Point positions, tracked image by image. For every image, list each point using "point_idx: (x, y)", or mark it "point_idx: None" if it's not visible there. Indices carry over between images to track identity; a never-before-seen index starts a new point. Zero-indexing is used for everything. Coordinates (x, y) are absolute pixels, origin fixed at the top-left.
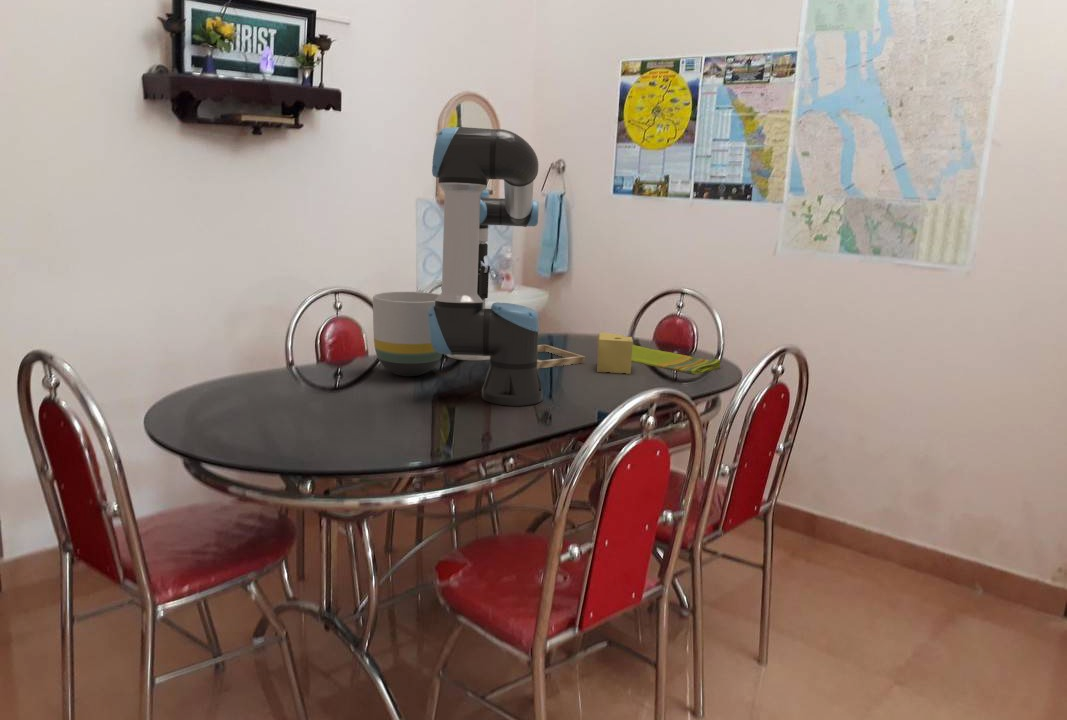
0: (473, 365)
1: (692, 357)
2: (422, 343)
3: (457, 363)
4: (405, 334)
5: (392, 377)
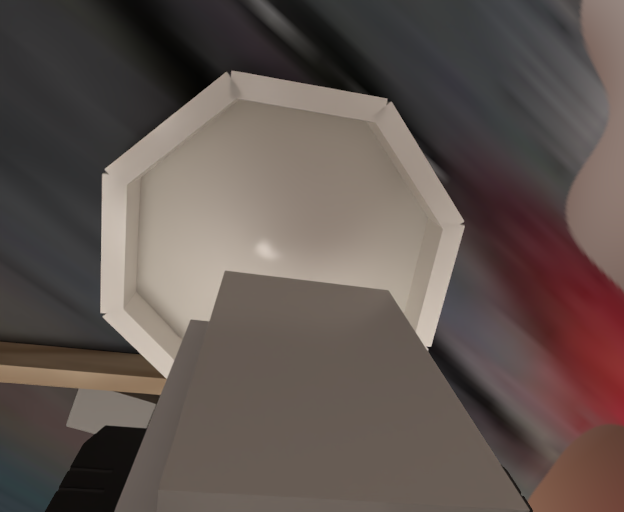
0: (21, 57)
1: None
2: None
3: (124, 3)
4: None
5: None
